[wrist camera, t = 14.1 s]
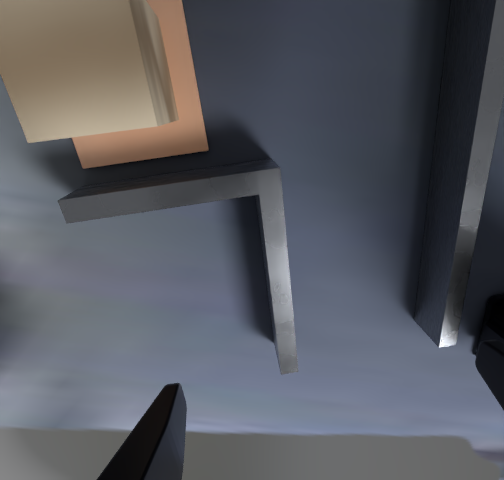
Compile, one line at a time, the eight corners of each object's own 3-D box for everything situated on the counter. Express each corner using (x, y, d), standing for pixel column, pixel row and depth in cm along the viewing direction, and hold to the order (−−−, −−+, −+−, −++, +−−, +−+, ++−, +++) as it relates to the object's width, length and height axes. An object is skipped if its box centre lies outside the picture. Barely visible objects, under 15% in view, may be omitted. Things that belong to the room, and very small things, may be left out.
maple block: (179, 120, 16) (157, 126, 11) (94, 130, 16) (28, 143, 11) (158, 18, 14) (120, -36, 9) (62, 29, 14) (-37, -19, 9)
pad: (176, -28, 14) (176, -32, 14) (209, 149, 17) (208, 150, 17) (24, -9, 14) (18, -12, 13) (85, 167, 17) (82, 168, 17)
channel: (491, -130, 14) (558, -189, 11) (428, 317, 24) (455, 344, 21) (-11, -71, 13) (-73, -119, 10) (148, 364, 23) (138, 399, 20)
